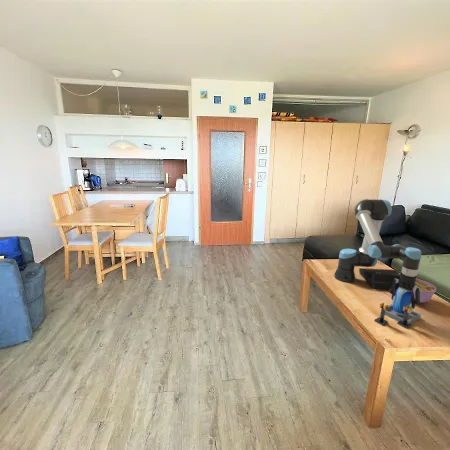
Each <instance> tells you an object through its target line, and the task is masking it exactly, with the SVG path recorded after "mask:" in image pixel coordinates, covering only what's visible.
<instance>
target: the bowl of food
mask: <svg viewBox="0 0 450 450" xmlns="http://www.w3.org/2000/svg"><path fill="white" fill-rule="evenodd" d="M415 285H416V286H417V287H421V290H420V303H419V304H421V303H428V302H430V300H431V299H432V297H433V296H434V294H435V292H436V291H437V287H436V286H435V285H434V284H432V283H430V282H428V281H425V280H424V279H423V280H422V279H419V278H416V281H415ZM415 291H416V290H415V288H413V293H414V296H415Z"/></svg>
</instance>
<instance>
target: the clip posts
mask: <svg viewBox="0 0 450 450" xmlns="http://www.w3.org/2000/svg"><path fill="white" fill-rule="evenodd" d="M389 305H390V304H385V302H382V303H379V309H380V315H379V317H377V318H375V319H374V322H375V323H377V324H379V325H381V326H385V325H388V324H389V321H388V320H386V319H385V316H386V315H385V310H387V309H388V306H389ZM407 307H408V306H407V305H405V306H403V311H405V313H404V317H403V322H402V321H399V322H398V321H396V322H397V323H396V324H397V325H399V327H400V326H401V327H402V328H404V329H406V330H407V329H409V328H410V327H412V324H413V323H412V324H407V320H408V315H409V313H410V312H412V311H413V309H412V307H410V308H408V310H407Z"/></svg>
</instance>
